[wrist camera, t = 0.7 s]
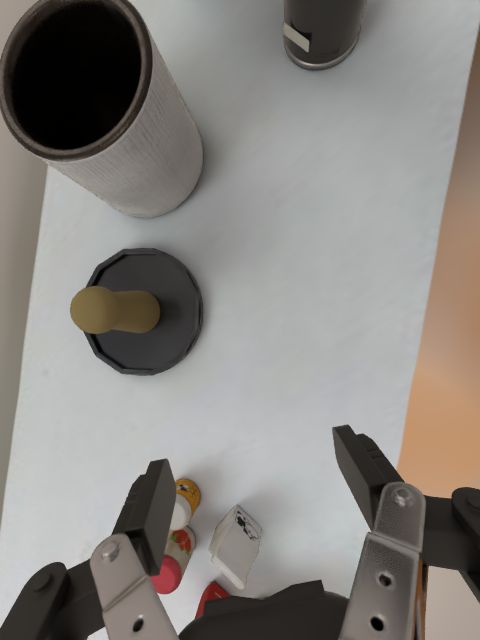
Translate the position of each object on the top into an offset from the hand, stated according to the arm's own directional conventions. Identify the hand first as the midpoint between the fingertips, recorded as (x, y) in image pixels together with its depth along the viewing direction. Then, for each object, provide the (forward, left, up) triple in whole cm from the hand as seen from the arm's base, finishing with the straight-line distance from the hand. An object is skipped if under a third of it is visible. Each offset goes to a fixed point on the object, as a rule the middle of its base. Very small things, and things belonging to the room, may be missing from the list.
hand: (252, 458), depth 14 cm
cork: (-7, -19, -24) cm, 32 cm away
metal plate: (-7, -19, -25) cm, 32 cm away
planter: (-28, -18, -25) cm, 42 cm away
